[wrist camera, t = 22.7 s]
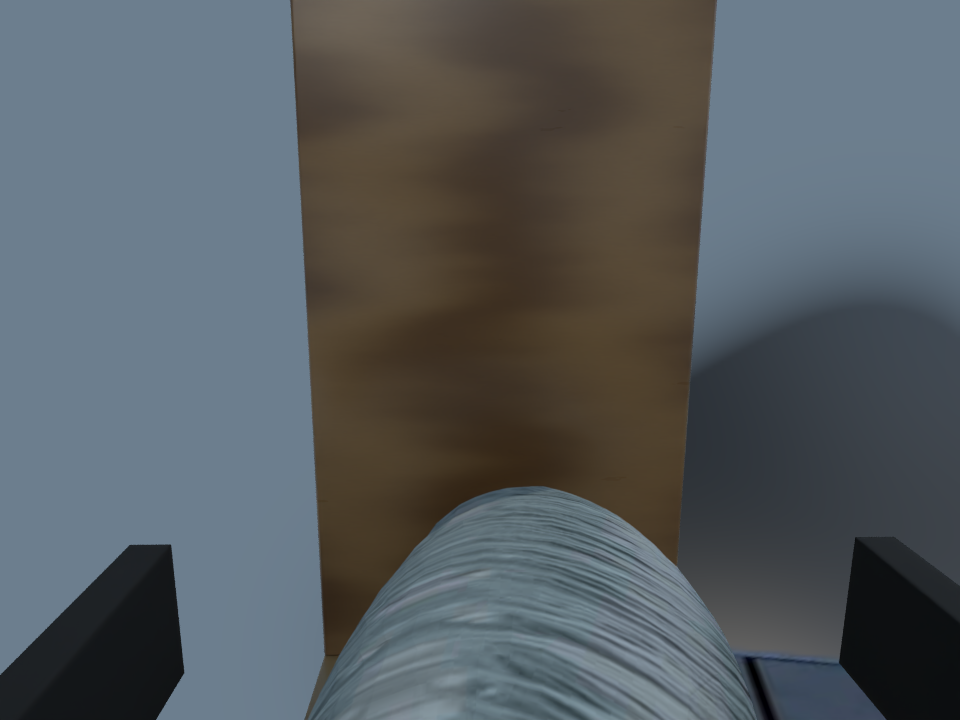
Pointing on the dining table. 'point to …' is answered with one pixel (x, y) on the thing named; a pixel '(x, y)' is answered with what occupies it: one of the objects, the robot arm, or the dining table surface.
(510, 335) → the wooden chair
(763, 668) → the dining table surface
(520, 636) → the grey streaked ellipsoid
